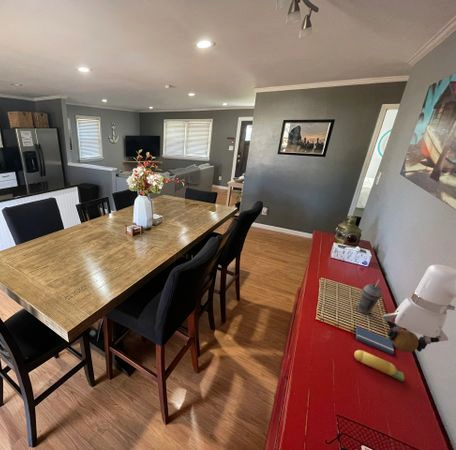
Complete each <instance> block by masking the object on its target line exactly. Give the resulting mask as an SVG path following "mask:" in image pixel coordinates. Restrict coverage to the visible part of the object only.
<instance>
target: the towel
mask: <svg viewBox="0 0 456 450" xmlns="http://www.w3.org/2000/svg"><path fill="white" fill-rule="evenodd" d="M355 327H356V328H355V329H356V330H355V339H356V340H357V341H359V342H362V343H364V344H366V345H368V346H371V347H373V348H376V349H378V350H380V351H383V352H385V353H388V354H390V355H391V356H392V355H394V354H395V352H394V351H395V350H394V344H393V341H391V340H390V339H389V338H387V337H384V336H383V335H380V334H377V333H375V332H373V331H370V330H367V329H365V328H362V327H359V326H355Z"/></svg>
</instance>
